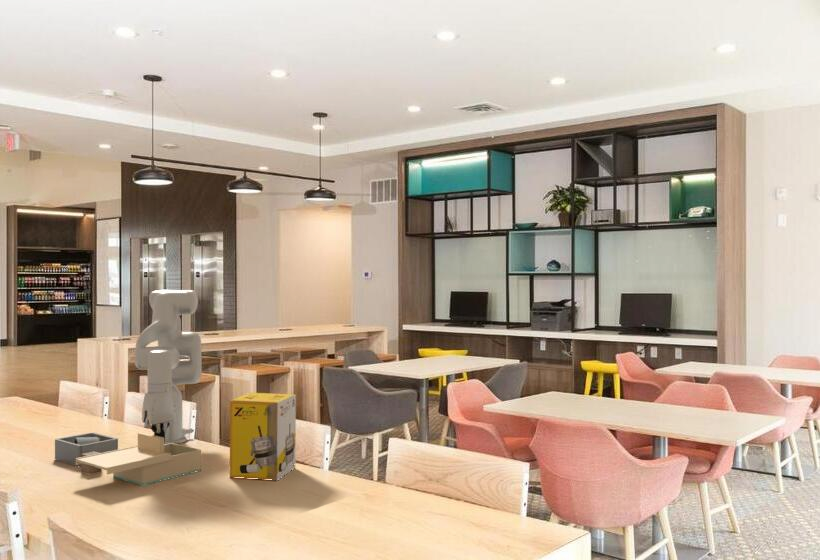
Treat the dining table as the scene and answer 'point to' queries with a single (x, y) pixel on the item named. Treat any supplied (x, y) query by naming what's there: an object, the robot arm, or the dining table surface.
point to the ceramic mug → (86, 440)
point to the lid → (129, 455)
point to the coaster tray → (82, 447)
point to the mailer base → (165, 466)
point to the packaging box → (262, 435)
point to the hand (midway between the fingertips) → (159, 444)
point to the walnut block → (88, 468)
